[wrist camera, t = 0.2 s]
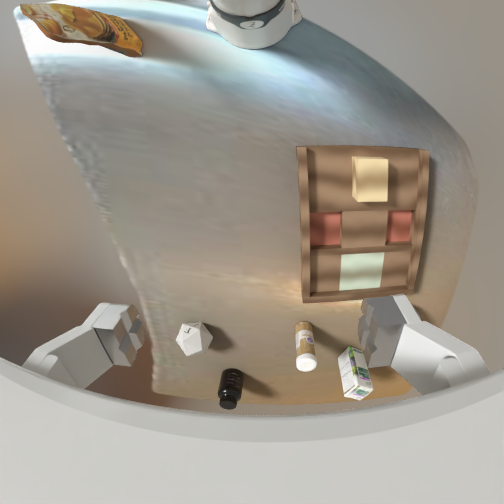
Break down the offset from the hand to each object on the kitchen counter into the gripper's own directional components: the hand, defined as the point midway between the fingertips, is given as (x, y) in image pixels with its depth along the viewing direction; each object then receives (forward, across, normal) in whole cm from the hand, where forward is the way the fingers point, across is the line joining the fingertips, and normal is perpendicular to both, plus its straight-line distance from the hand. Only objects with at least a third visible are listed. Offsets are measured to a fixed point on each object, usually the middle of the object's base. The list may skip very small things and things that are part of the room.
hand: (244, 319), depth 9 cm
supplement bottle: (+47, +15, +60) cm, 78 cm away
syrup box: (+47, -20, +54) cm, 74 cm away
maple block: (+45, -19, +4) cm, 49 cm away
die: (+48, +22, +42) cm, 67 cm away
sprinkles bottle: (+47, -6, +42) cm, 63 cm away
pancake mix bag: (+48, +29, -34) cm, 65 cm away
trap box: (+47, -19, +14) cm, 53 cm away
